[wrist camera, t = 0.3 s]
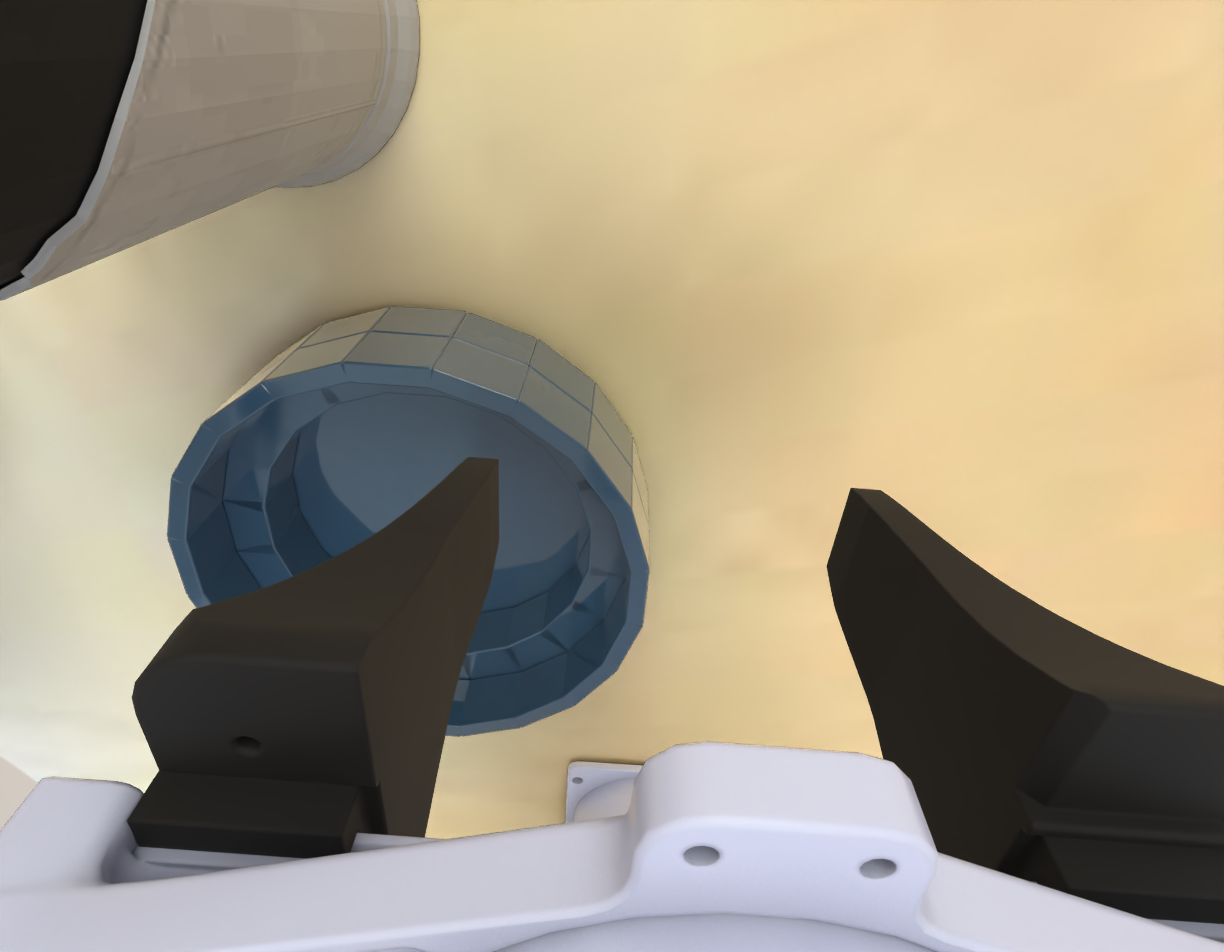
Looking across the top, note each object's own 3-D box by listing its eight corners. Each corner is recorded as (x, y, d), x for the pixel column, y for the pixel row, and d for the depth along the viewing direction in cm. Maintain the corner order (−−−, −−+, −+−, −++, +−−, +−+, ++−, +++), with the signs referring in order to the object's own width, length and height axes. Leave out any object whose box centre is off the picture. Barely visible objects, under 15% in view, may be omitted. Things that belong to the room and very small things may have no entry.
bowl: (629, 648, 30) (628, 748, 26) (286, 626, 30) (229, 722, 26) (665, 319, 22) (672, 385, 18) (200, 285, 22) (99, 344, 18)
